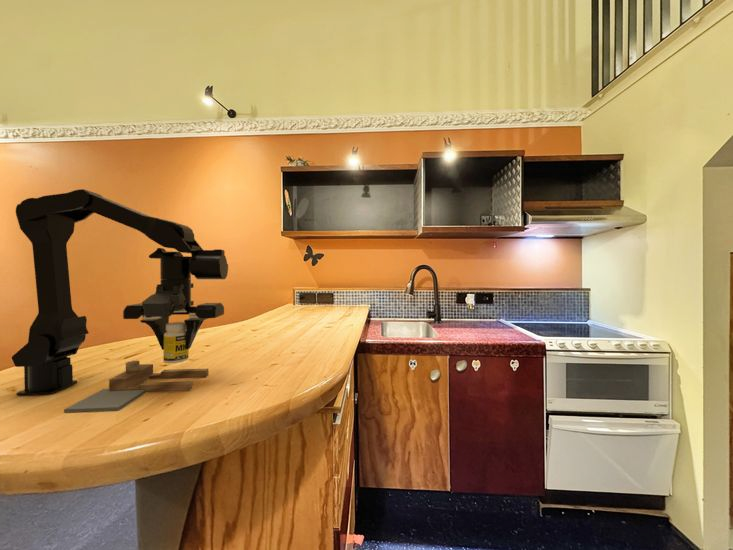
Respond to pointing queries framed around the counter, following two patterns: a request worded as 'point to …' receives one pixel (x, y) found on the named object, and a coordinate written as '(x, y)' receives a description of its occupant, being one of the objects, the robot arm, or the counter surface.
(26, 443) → the counter surface
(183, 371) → the plane body
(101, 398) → the mat
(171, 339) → the supplement bottle
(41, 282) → the robot arm
